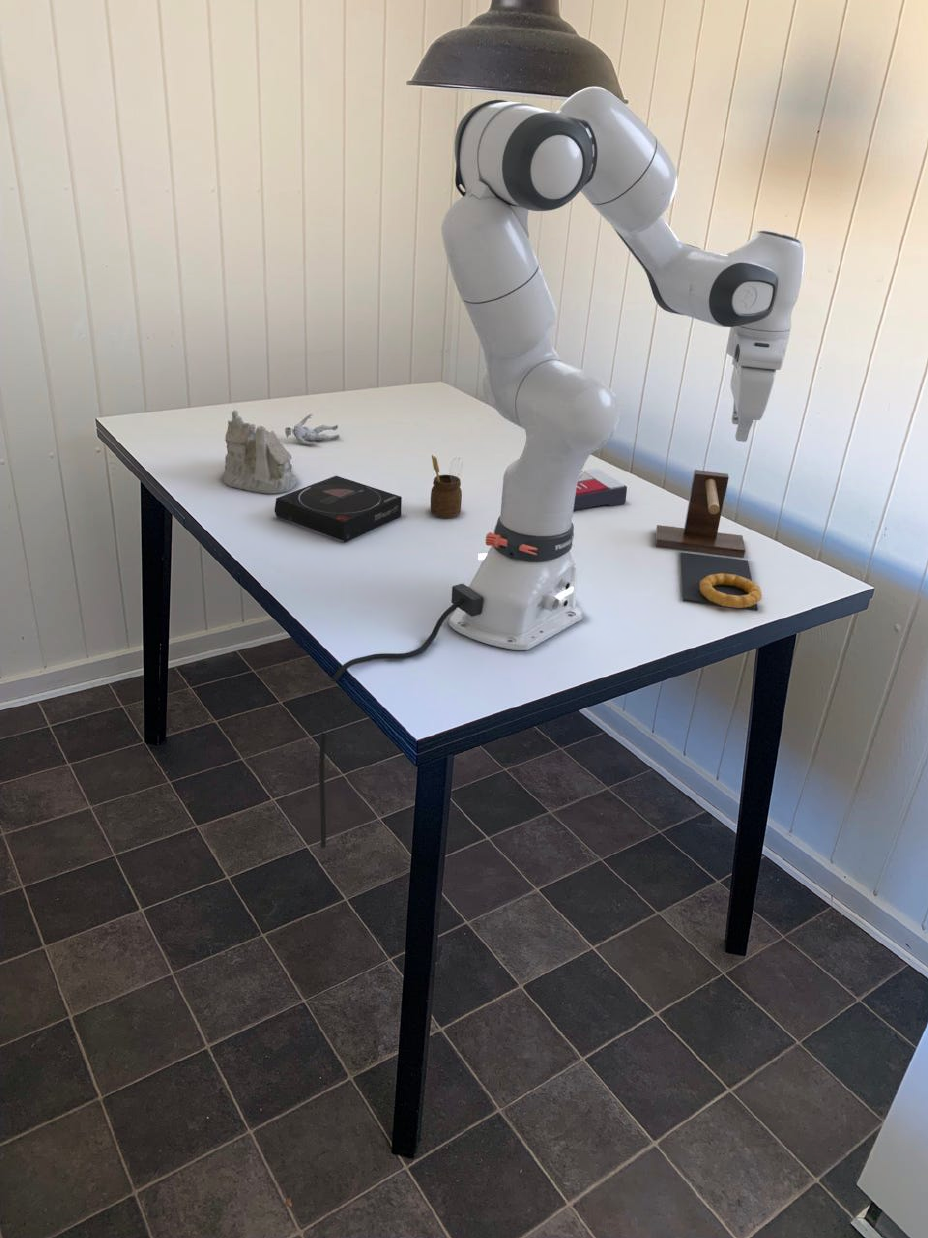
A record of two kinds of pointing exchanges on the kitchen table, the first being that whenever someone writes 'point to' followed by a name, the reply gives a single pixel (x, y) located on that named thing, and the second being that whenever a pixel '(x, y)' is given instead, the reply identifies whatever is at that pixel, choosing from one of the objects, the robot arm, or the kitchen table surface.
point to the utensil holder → (445, 494)
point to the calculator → (598, 490)
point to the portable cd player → (338, 508)
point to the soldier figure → (310, 432)
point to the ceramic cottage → (256, 459)
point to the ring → (727, 599)
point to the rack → (703, 520)
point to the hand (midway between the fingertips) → (738, 431)
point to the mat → (703, 566)
